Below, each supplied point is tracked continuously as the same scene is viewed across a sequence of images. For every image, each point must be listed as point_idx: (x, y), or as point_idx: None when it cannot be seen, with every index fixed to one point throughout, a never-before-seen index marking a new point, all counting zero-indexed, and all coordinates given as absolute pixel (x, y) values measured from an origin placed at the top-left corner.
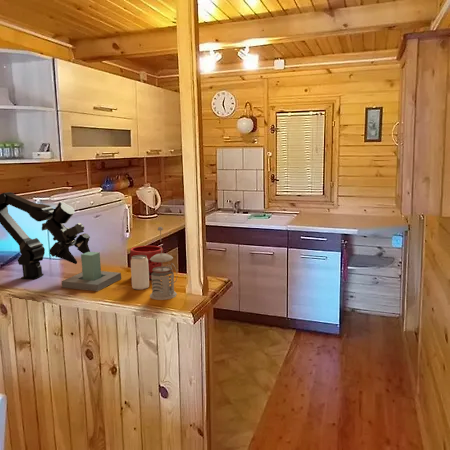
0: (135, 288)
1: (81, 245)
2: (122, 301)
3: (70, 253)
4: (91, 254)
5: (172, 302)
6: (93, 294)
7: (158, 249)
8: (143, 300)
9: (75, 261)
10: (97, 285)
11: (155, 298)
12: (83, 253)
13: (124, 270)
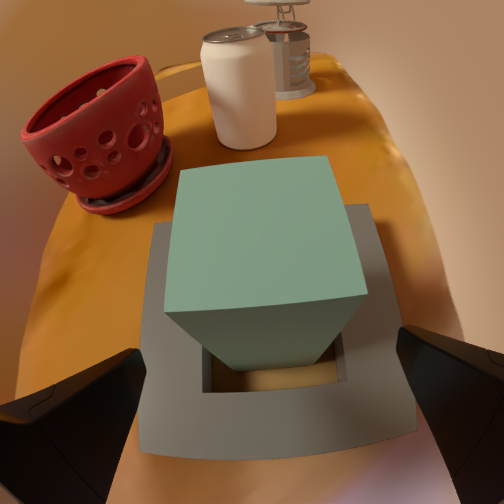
0: (276, 130)
1: (41, 499)
2: (374, 122)
3: (495, 365)
4: (295, 180)
5: (311, 68)
6: (393, 215)
7: (54, 107)
8: (336, 96)
9: (420, 333)
10: (364, 206)
11: (314, 84)
12: (117, 460)
13: (54, 304)
